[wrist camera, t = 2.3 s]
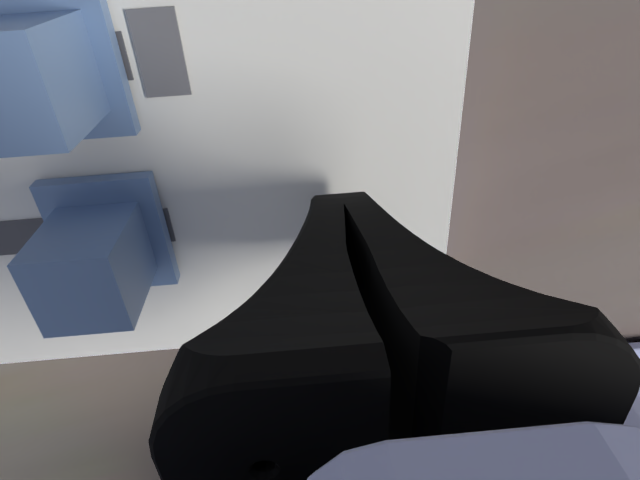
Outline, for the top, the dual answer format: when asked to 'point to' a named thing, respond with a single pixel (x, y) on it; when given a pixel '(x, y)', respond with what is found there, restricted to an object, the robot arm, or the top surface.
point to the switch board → (257, 144)
